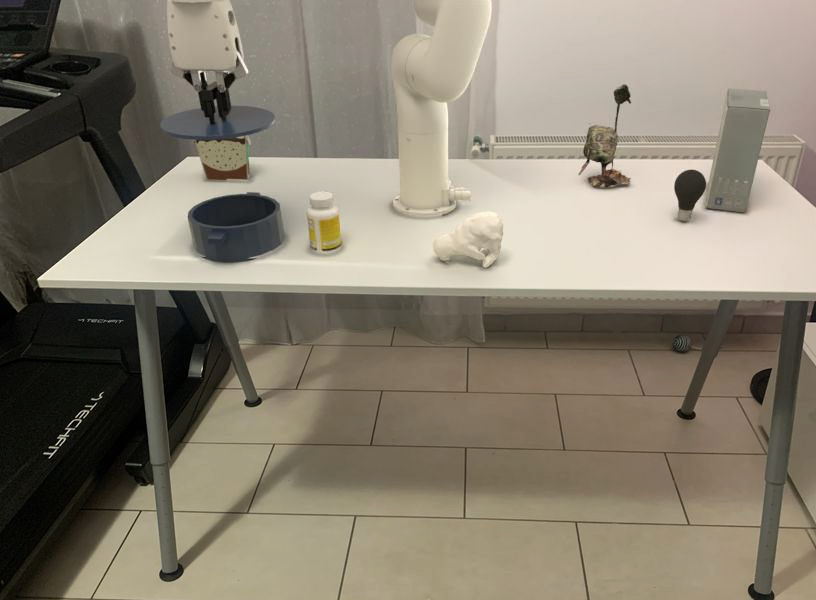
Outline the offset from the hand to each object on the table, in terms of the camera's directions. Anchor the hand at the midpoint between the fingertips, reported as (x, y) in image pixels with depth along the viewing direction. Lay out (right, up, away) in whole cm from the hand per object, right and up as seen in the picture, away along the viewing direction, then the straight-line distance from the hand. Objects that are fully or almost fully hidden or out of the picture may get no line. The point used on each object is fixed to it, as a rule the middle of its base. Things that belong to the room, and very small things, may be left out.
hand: (217, 114), depth 116 cm
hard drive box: (+94, -7, +31) cm, 99 cm away
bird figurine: (+71, -2, +38) cm, 80 cm away
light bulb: (+82, -14, +21) cm, 86 cm away
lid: (0, -1, +1) cm, 1 cm away
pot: (0, -19, +12) cm, 23 cm away
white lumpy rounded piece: (+41, -23, +6) cm, 47 cm away
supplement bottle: (+16, -20, +11) cm, 28 cm away
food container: (-10, 0, +42) cm, 43 cm away
